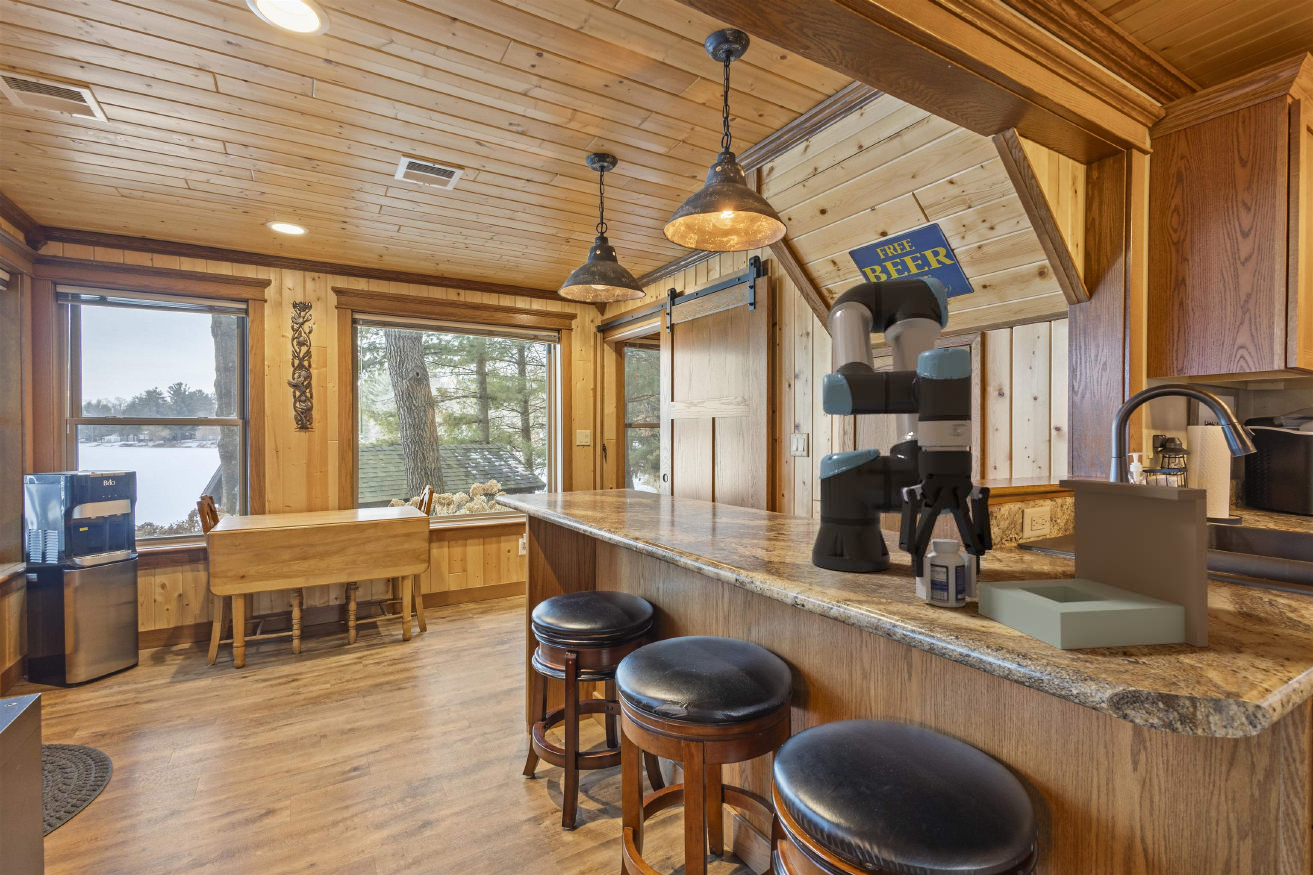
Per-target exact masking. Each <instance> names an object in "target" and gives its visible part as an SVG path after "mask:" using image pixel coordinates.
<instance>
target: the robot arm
mask: <svg viewBox="0 0 1313 875" xmlns="http://www.w3.org/2000/svg"><path fill="white" fill-rule="evenodd" d="M948 302H949V300H948V294H947V291H946V288H945V286H944V283H942V281H941V280H940V279H938V278H935V277H922V276H920V277H919V276H918V277H917V276H916V277H915V278H911V279H909V278H907V279H895V280H892V279H891V280H882V281H881V280H880V281H865V282H862V283H859V284H857V285H854V286H853V287H850V288H848V289H847V290H846V291H845V292H843V293H842V294H841V295H839V296H838V298H836V299H835V301H833V303H832V305H831V307H830V309H829V311H828V313H827V318H826V325H827V330H828V333H829V334H830V336H831V338H832V339H831V341H832V347H831V348H832V373H827V374H825V375H824V376H823V377H822V411H823V412H824V413H825V414H826V415H831V416H833V415H834V416H835V415H836V416H843V417H849V416H862V415H865V416H867V415H869V416H870V415H895V426H896V427H895V428H896V441H895V443H893V444H892V445H891V446H890V448H889V455H881V451H880V449H879V448H869V449H859V450H850V451H843V452H836V453H830V454H826V455H825V456H823V457H822V458H821V460H820V468H819V470H820V471H819V477H818V480H820V494H819V496H820V497H819V498H820V499H819V501H820V504H819V506H820V511H819V513H820V515H819V516H820V518H819V519H820V523H819V524H820V525H819V529H818V532H817V535H816V537H815V538H816V539H815V542H814V544H813V548H812V550H811V563H812V564H813V563H814V564H813V565H815V566H816V567H820V568H823V569H827V570H834V571H843V572H856V573H857V572H860V573H861V572H862V573H864V572H869V573H870V572H878V571H884V570H888V569H889V568H890V567H891V555H890V552H889V549H888V547H887V543H886V540H885V537H884V534H883V531H882V528H881V514H889V515H892V514H895V515H901V517H900V527H899V537H898V549H899V550H900V551H902V552H905V553H908V554H909V555H910V561H911V562H910V565H911V567H910V568H911V570H910V572H911V575H912V576H913V577H915V595H916V597H918V598H921V599H923V600H925V601H928V600H931V583H930V557H927V556H928V555H926V552H927V550H928V546H929V543H930V542H931V541H930V540H931V538H932V536H933V532H934V529H935V525H936V522H937V521H938V520H937V519H938V517H939V516H941V515H952V516H953V519H954V522H955V525H956V528H957V530H958V534H959V536H960V538H961V541H962V544H963V547H964V548H963V549H964V550H965V552H960V554H959V555H961V556H962V557H963V558H964V560H965V587H966V597H968V598H971V599H977V576H980V573H981V557H983V556H985V555H986V552H987V551H992V550H993V547H994V545H993V544H994V543H993V535H992V528H991V518H990V511H989V510H990V508H989V498H990V495H991V489H990V487H989V486H983V485H981V486H980V485H975V484H973V482H972V479H971V474H972V473H973V453H972V452H971V450H968V448H969V447H971V446H973V445H972V443H973V442H972V438H973V437H972V436H973V435H972V434H973V432H972V429H973V427H972V374H973V368H972V363H971V362H972V361H971V353H970V351H968V350H967V349H965V348H958V347H950V348H947V347H945V348H936V344H935V343H936V342H935V341H936V340H937V339H938V338H939V337H940V336H941V334H942V330H944V329H945V328H946V327H947V325H948V321H949V307H948V306H949V303H948ZM871 334H883V339H884V341H885V343H886V344H888V345H890V346H891V352H892V353H891V354H892V355H891V356H892V370H891V371H888V370H887V371H885V370H884V371H876V369H875V361H874V354H873V346H872V340H871ZM969 497H970V507H969V503H968V500H967V499H968V498H969ZM970 508H971V509H970ZM970 512H971V515H970ZM918 516H920V517H919V520H918ZM971 516H972V517H971Z"/></svg>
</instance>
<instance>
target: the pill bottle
mask: <svg viewBox="0 0 1313 875" xmlns="http://www.w3.org/2000/svg"><path fill="white" fill-rule="evenodd" d="M930 540H931V541H930V547H931V548H930V549H931V550H932V552H931V553H929V554H928V555H926V556H927V557H930V583H931V600H927V602H928V603H930V605H934V606H938V607H940V608H941V607H942V608H962V607H964V606H965V605H966V604H967V599H966V597H967V596H966V587H965V560H964V558H963V557H962V556H961V555H960V554H959V552H960V548H961V547H960V541H959V540H956V539H950V538H932V539H930Z"/></svg>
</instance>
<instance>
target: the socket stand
mask: <svg viewBox="0 0 1313 875" xmlns="http://www.w3.org/2000/svg"><path fill="white" fill-rule="evenodd" d="M1058 488H1060V489H1070V490H1073V499H1074V500H1073V504H1074V505H1073V509H1074V510H1073V514H1074V521H1073V522H1074V527H1073V528H1074V578H1057V579H1054V578H1053V579H1034V580H1033V579H1031V580H1029V579H1028V580H1010V581H1009V580H1008V581H1004V580H1003V581H982V582H977V584H978V585H977V587H978V588H977V589H978V590H977V591H978V592H977V594H978V595H977V596H978V597H977V598H978V599H977V600H978V602H977V603H978V605H977V606H978V612H977V613H978V614H979V615H981V616H984V617H986V618H989V619H991V620H993V621H996V622H998V623H1000V624H1002V625H1004V626H1006V627H1009V628H1011V629H1013V630H1016V631H1018V632H1020V633H1022V634H1025V635H1027V636H1029V637H1032V638H1034V639H1036V640H1038V641H1041V642H1043V643H1046V645H1050V646H1052V647H1054V648H1057V649H1058V650H1061V651H1062V650H1076V649H1095V648H1098V649H1099V648H1113V647H1116V648H1117V647H1129V646H1130V647H1133V646H1134V647H1135V646H1148V645H1149V646H1150V645H1151V646H1152V645H1165V644H1166V645H1167V644H1168V645H1169V644H1182V643H1183V644H1188V645H1191V646H1194V647H1197V648H1201V647H1209V606H1208V601H1209V599H1208V598H1209V597H1208V586H1209V585H1208V515H1207V514H1208V511H1207V510H1208V507H1207V506H1208V505H1207V504H1208V503H1207V502H1208V501H1207V499H1208V498H1207V496H1208V495H1207V489H1205V488H1196V487H1195V488H1193V487H1184V486H1183V487H1181V486H1167V485H1158V484H1157V485H1156V484H1146V483H1133V482H1132V483H1130V482H1120V481H1119V482H1117V481H1109V480H1108V481H1107V480H1093V479H1083V478H1082V479H1078V478H1077V479H1058Z"/></svg>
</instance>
